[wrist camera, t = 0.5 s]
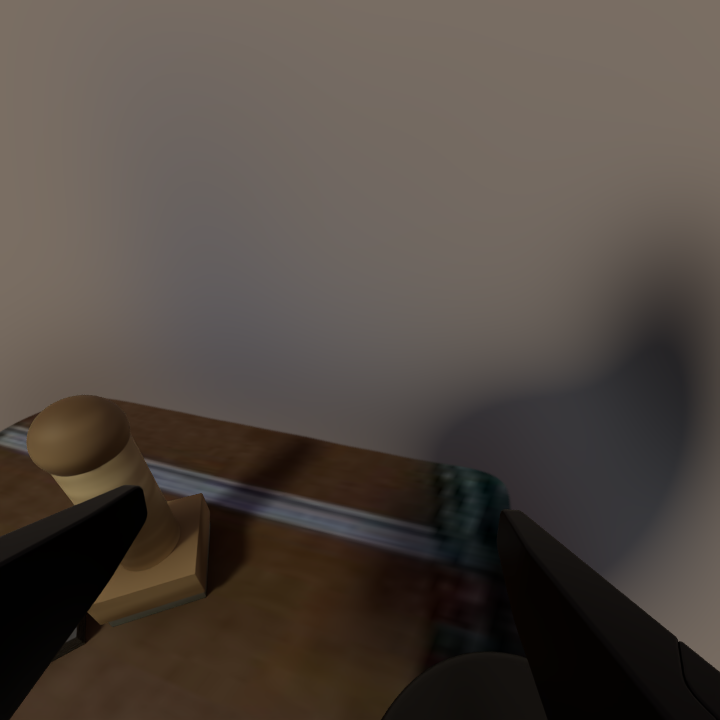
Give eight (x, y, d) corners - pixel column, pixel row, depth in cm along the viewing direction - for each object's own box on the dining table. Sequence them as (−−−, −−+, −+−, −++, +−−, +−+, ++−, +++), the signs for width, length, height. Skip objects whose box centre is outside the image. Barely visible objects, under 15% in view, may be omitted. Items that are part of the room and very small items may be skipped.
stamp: (209, 599, 22) (116, 433, 14) (107, 632, 20) (-59, 468, 12) (213, 519, 26) (144, 360, 18) (130, 542, 25) (19, 381, 17)
